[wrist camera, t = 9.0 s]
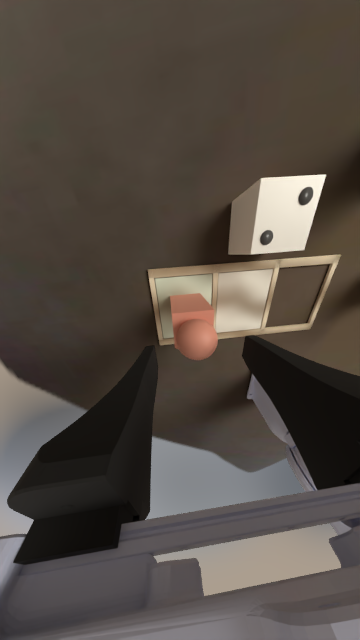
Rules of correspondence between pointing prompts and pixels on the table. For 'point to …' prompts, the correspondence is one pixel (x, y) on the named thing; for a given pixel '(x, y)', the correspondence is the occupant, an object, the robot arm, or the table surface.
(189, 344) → the pawn
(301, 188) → the die
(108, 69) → the table surface
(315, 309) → the board
